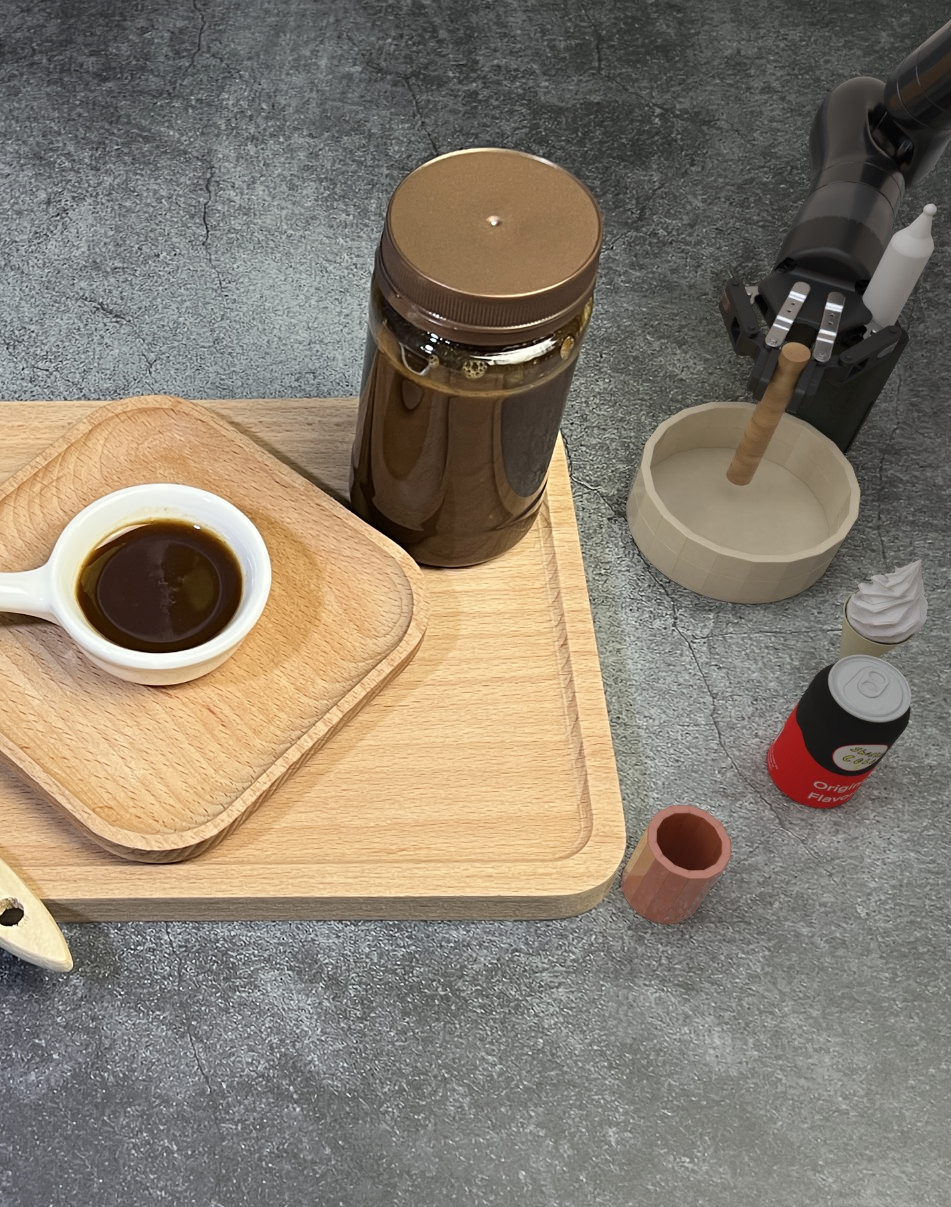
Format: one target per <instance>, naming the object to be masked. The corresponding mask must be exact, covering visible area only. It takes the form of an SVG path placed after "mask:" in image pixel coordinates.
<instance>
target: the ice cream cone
mask: <svg viewBox="0 0 951 1207" xmlns="http://www.w3.org/2000/svg"><path fill="white" fill-rule="evenodd" d="M922 562H923V559H922V558H919V559H917V560H915V561H913V562H911V563H909V564H907V565H905V566H902V567H895V568H894V572H893V573H890V572H889V573H884V575H882V574H874V575H872V576H871V577H870V579H871V581H872V584H871V583H866V582H861V583H858V585H857V586H858V589H856V590H854V591H853V592H851V593H850V594H849V595H848V596H846V598H845V600H844V602H843V605H842V606H843V607H842V613H843V614H842V615H843V620H842V627H841V634H840V642H839V643H840V644H839V652H838V653H839V654H838V660H837V662H838V661H839V660H841V659H842V658H845V657H847V656H851V655H869V656H873V657H877V658H880V657H881V656H883V655H885V654H886V653H887V654H888V653H889V652H891V651H892V650H893V649H895V648H896V647H898V646H901V645H904V644H906V643H908V642H910V641H911V640H912V639H913V638H914V637H915V636H916V634H918V633H920V631H921V628H922V627H923V626H924V624H926V620H927V615H928V614H927V613H928V608H929V602H928V601H927V599H926V597H925V592H926V591H925V587H924V586H925V585H924V583H925V581H924V578H923V575H922V573H923V572H922Z"/></svg>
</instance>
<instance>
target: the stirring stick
mask: <svg viewBox="0 0 951 1207" xmlns="http://www.w3.org/2000/svg"><path fill="white" fill-rule="evenodd" d="M810 355H811V354H810V351H809V349H808V348H807V347H806V346H804V345H802V344H800V343H794V342H787V343H786V344H784V345H783V347H782V349H781V352H780V354H779V357H778V361H777V364H776V367H775V369H774V372H773V374H772V377H771V379H770V382H769V384H768V387H767V389H766V391H765V393H764V396H763V398H762V400H761V402H759V401H757V405H756V408H755V410H754V412H753V414H752V417H751V419H750V421H749V423H748V425H747V428H746V430H745V432H744V434H743V437H742V439H741V441H740V443H739V445H738V448H737V450H736V452H735V454H734V457H733V459H732V461H731V463H730V465H729V468H728V470H727V472H726V476H727V479H728V480H729V481H730V482H731V483H733V484H735V485H739V486H744V485H747V484H749V483H750V482H751V480H752V478H753V476H754V474H755V472H756V470H757V468H758V466H759V463H760V461H761V459H762V457H763V455H764V453H765V451H766V449H767V447H768V445H769V442H770V440H771V438H772V436H773V434H774V432H775V430H776V428H777V426H778V424H779V421H780V419H781V417H782V415H783V413H784V412H785V410H786V408H787V405H788V403H789V401H790V398H791V396H792V393H793V390H794V388H795V386H796V384H797V382H798V380H799V378H800V375H801V373H802V371H803V369H804V368H805V366H806V365H807V363H808V360H809V358H810Z"/></svg>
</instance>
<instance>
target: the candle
mask: <svg viewBox="0 0 951 1207" xmlns="http://www.w3.org/2000/svg"><path fill="white" fill-rule="evenodd" d="M922 211H923V212H921V214H920V215H918V216H917V218H916V219H914V220H913V222H912V223H910V224H909V225H908V226H907V227H904V228H902V229H900V230H898V231H896V232H895V233H894V234H892V237H891V240H890V242H889V245H888V247H887V249H886V251H885V253H884V255H883V257H882V259H881V261H880V263H879V265H878V267H877V269H876V271H875V273H874V275H873V277H872V279H871V281H870V283H869V285H868V287H867V289H866V291H865V293H864V295H863V302H864V304H865V306H866V307H867V308H868V309H869V310H870V311H871V313H872V315H873V318H872V320H873V321H874V322H876V323H877V324H878V325H880V326H881V327H883V328H885V327H886V326H889V325H894V326H897V327H899V328H900V329H901V331H902V334H901V336H900V338H899V339H898V342H897V344H896V345H895V347H894V349H893V351H892V352H891V354H890V356H889V358H888V359H886V360H885V361H883V362H881V363H880V364H878V365H876V366H875V367H873V368H871V369H870V370H868V371H866V372H865V373H863V374H861V375H860V376H858V377H856V378H855V379H853V380H851V381H850V382H848V383H846V384H845V385H843V386H834V385H832V384H831V383H830V382H829V380H823V381H820V383H819V386H818V389H817V392H816V394H815V396H814V398H813V400H812V402H811V404H810V406H808V407H807V408H806V409H803V408H800V407H799V408H798V410H797V412H796V413H793V412H790V411H787V410H786V409H787V407H788V405H787V407H786V409H785V411H784V412H785V413H788V414H790V415H792V416H794V417H796V418H799V419H801V420H803V421H805V422H807V423H809V424H810V425H812V426H813V427H814V428H816V429H817V430H818V431H820V432H821V433H822V434H823V435H825V436H826V437H827V438H829V439H830V440H831V441H833V442H834V443H835V444H836V446H837V447H838V448H839V450H840V451H841V452H842V453H843V455H847V454H848V453H849V452H850V450H851V448H852V446H853V444H854V442H855V441H856V439H857V437H858V435H859V433H860V431H861V430H862V428H863V426H864V424H865V422H866V421H867V418H868V417H869V415H870V413H871V412H872V410H873V408H874V406H875V404H876V402H877V401H878V398H879V397H880V395H881V393H882V391H883V390H884V387H885V386H886V384H887V382H888V380H889V379H890V376H891V375H892V373H893V371H894V369H895V367H896V366H897V364H898V362H899V360H900V358H901V356H902V355H903V353H904V351H905V349H906V348H907V345H908V344H909V341H910V336H909V334H908V332H907V331H906V330H905V329H904V328H902V326H901V323H900V322H899V320H898V318H899V316H900V315H901V312H902V311H903V308H904V307H905V305H906V303H907V301H908V300H909V297H910V296H911V293H912V292H913V290H914V288H915V286H916V284H917V283H918V281H919V278H920V277H921V275H922V274H923V271H924V268H925V267H926V265H927V264H928V262H929V260H930V258H931V256H932V254H933V252H934V250H935V244H934V243H935V242H934V239H933V236H932V234H931V233H932V225H933V216H934V215H935V214H937V206H936V205H935V204H934V203H928V204H925V205H924V206H923V210H922ZM861 339H862V336H861V335H859V336H856V337H854V338H852V339H849V340H847V341H845V342H842V343H840V344H838V345H835V346H833V348H832V352H831V355H837V356H840V354H841V353H842V352H844V351H846V350H847V349H849V348H851V347H853V346H854V345H856V344H858V343H859V342H860V341H861ZM788 404H789V403H788Z"/></svg>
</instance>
